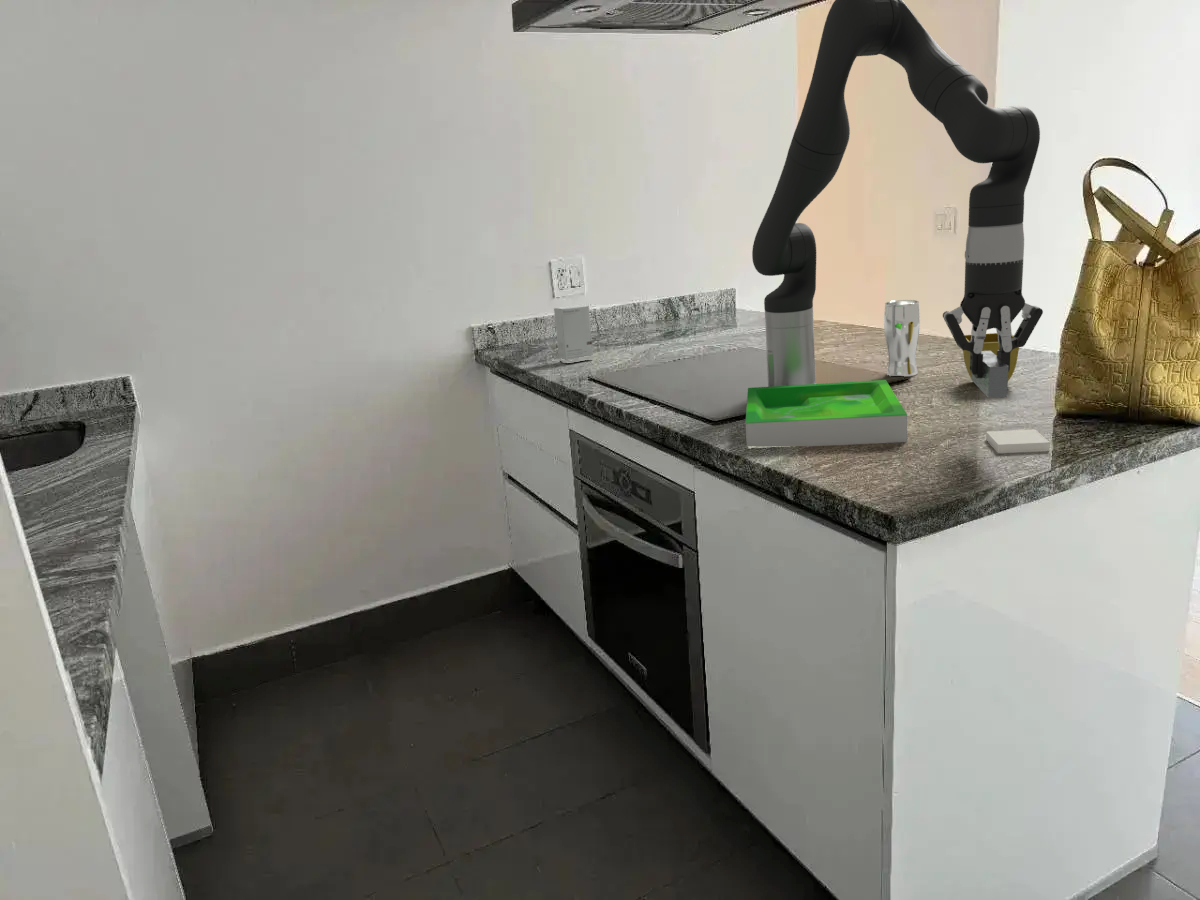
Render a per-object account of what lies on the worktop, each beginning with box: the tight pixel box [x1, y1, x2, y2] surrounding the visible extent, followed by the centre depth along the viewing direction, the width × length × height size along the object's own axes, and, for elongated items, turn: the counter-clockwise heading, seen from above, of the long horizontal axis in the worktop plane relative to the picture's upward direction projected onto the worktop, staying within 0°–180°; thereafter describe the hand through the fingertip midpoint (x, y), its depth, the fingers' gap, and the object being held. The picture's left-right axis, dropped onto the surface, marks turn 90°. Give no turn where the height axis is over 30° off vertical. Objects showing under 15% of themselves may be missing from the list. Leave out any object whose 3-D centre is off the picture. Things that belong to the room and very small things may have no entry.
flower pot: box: [962, 332, 1020, 387], centre depth 165 cm, size 9×9×9 cm
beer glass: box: [883, 299, 921, 378], centre depth 179 cm, size 7×7×15 cm
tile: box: [985, 428, 1051, 454], centre depth 130 cm, size 2×7×7 cm
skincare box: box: [553, 304, 594, 360], centre depth 233 cm, size 8×6×15 cm
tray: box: [745, 379, 908, 447], centre depth 151 cm, size 25×25×5 cm
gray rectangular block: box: [971, 351, 1009, 399], centre depth 128 cm, size 2×10×4 cm, turn 170°
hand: (989, 376), depth 128 cm, fingers closed on gray rectangular block, 2 cm apart
